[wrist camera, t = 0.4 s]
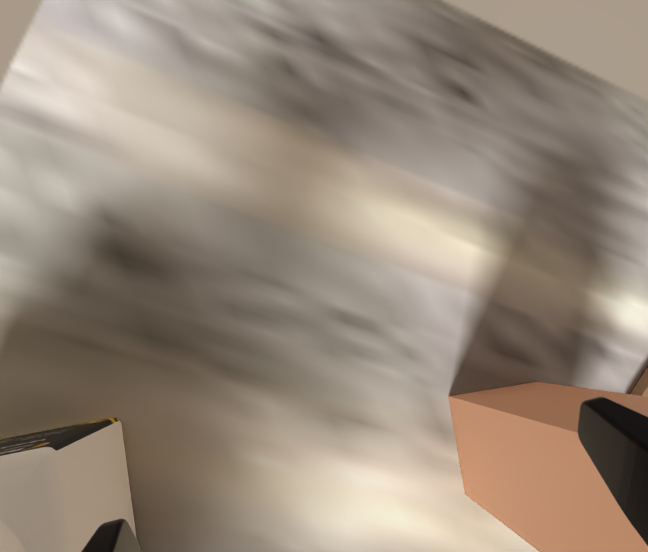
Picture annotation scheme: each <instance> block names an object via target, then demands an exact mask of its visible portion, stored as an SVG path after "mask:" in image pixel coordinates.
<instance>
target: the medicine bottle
mask: <svg viewBox="0 0 648 552" xmlns="http://www.w3.org/2000/svg"><path fill="white" fill-rule="evenodd" d="M117 519H125V520H127V522H128V523H129V525H130V527H131V529H132V531H133V533H134V535H135V537H136V530H135V522H134V515H133V507H132V500H131V492H130V485H129V477H128V470H127V462H126V455H125V447H124V440H123V432H122V425H121V422H120V420H118V419H117V418H107V419H102V420H97V421H92V422H87V423H82V424H77V425H72V426H67V427H62V428H57V429H52V430H47V431H42V432H37V433H32V434H27V435H22V436H16V437H11V438H6V439H1V440H0V552H81V551H82V550H83V548H84V547H85V546H86V544H87V543H88V541H89V540H90V538H91V537H92V536H93V534H94V533H95V531H96V530H97V529H98V527H99V526H100V525H101V524H103V523H105V522H109V521H113V520H117ZM136 539H137V537H136Z"/></svg>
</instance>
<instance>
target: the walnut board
mask: <svg viewBox="0 0 648 552" xmlns="http://www.w3.org/2000/svg"><path fill="white" fill-rule="evenodd" d="M630 394H632V395H639V396H646V397H648V367H647V368H646V370H645V371H644V373H643V374H642V376H641V378H640V379H639V381H638V382H637V384H636V385H635V387H634V388H633V390H632V392H631V393H630Z"/></svg>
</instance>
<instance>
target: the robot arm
mask: <svg viewBox="0 0 648 552" xmlns="http://www.w3.org/2000/svg"><path fill="white" fill-rule="evenodd" d="M578 437H579V440H580V442H581V444H582V446H583V447H584V449H585V451H586V452H587V454H588V455H589V457H590V459H591V460H592V462H593V464H594V465H595V467H596V469H597V470H598V472H599V474H600V475H601V477H602V479H603V480H604V482H605V484H606V485H607V487H608V489H609V490H610V492H611V494H612V495H613V497H614V499H615V500H616V502H617V503H618V505H619V507H620V508H621V510H622V511H623V513H624V514H625V516H626V517H627V519H628V520H629V521H630V523H631V524H632V526H633V527H634V528H635V530H636V531H637V532H638V534H639V535H640V536H641V538H642V539H643V540H644V542H645V543H646V544H647V546H648V417H647V416H645V415H643V414H640V413H638V412H636V411H634V410H632V409H629V408H627V407H625V406H623V405H621V404H619V403H616V402H614V401H612V400H610V399H607V398H605V397H596V398H593V399H589V400H585V401H583V402H582V403H581V405H580V412H579V421H578ZM81 552H141V548H140V545H139V543H138V541H137V539H136V537H135V535H134V533H133V531H132V529H131V527H130V525H129V523H128V522H127V520H125V519H117V520H113V521H109V522H105V523H103V524H101V525H100V526H99V527H98V529H97V530H96V531H95V533H94V534H93V536H92V537H91V538H90V540H89V541H88V543H87V544H86V546H85V547H84V548H83V550H82V551H81Z"/></svg>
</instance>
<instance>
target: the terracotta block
mask: <svg viewBox="0 0 648 552" xmlns="http://www.w3.org/2000/svg"><path fill="white" fill-rule="evenodd" d="M448 397H449V402H450V408H451V414H452V420H453V426H454V432H455V437H456V443H457V449H458V455H459V461H460V467H461V473H462V478H463V484H464V490H465V495H467V496H468V497H469V498H471V499H472V500H473V501H474V502H476V503H477V504H478V505H480V506H481V507H482V508H484V509H485V510H486V511H487V512H489V513H490V514H491V515H493V516H494V517H495V518H497V519H498V520H499V521H500V522H502V523H503V524H504V525H506V526H507V527H508V528H510V529H511V530H512V531H513V532H515V533H516V534H517V535H519V536H520V537H521V538H523V539H524V540H525V541H526V542H528V543H529V544H530V545H532V546H533V547H534V548H536V549H537V550H538V551H539V552H648V546H647V544H646V543H645V542H644V540H643V539H642V538H641V536H640V535H639V534H638V532H637V531H636V530H635V528H634V527H633V526H632V524H631V523H630V521H629V520H628V519H627V517H626V516H625V514H624V513H623V511H622V510H621V508H620V507H619V505H618V503H617V502H616V500H615V499H614V497H613V495H612V494H611V492H610V490H609V489H608V487H607V485H606V484H605V482H604V480H603V479H602V477H601V475H600V474H599V472H598V470H597V469H596V467H595V465H594V464H593V462H592V460H591V459H590V457H589V455H588V454H587V452H586V451H585V449H584V447H583V446H582V444H581V442H580V440H579V437H578V421H579V412H580V405H581V403H582V402H583V401H585V400H589V399H593V398H596V397H605V398H607V399H610V400H612V401H614V402H616V403H619V404H621V405H623V406H625V407H627V408H629V409H632V410H634V411H636V412H638V413H640V414H643V415H645V416H647V417H648V397H646V396H639V395H632V394H624V393H617V392H609V391H602V390H594V389H587V388H579V387H572V386H565V385H557V384H550V383H542V382H532V383H526V384H520V385H514V386H508V387H502V388H496V389H490V390H483V391H477V392H471V393H465V394H459V395H453V396H448Z"/></svg>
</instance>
